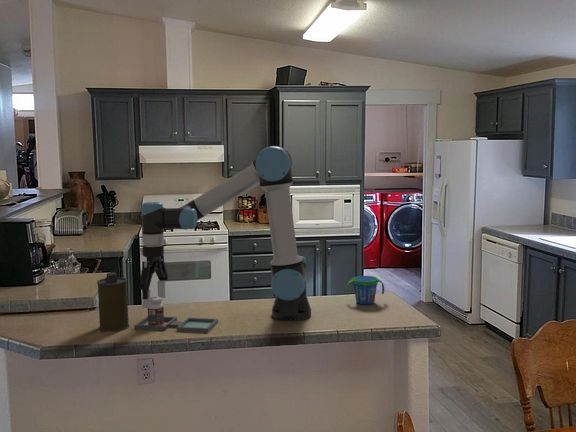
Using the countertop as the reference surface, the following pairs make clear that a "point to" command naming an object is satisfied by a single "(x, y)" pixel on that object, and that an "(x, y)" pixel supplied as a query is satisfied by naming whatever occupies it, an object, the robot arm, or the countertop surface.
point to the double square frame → (181, 324)
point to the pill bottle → (156, 312)
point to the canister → (113, 303)
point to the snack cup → (365, 288)
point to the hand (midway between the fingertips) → (154, 302)
